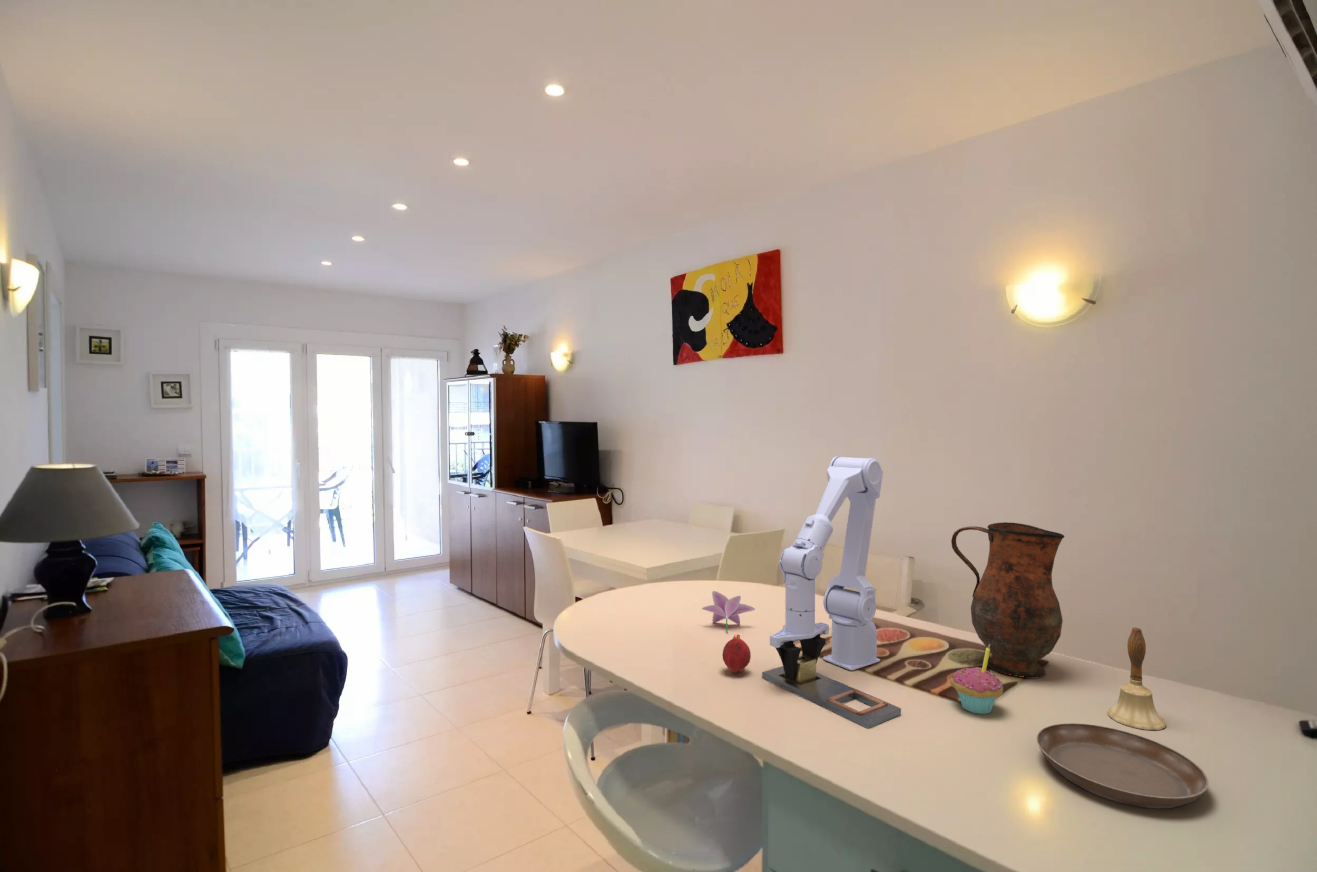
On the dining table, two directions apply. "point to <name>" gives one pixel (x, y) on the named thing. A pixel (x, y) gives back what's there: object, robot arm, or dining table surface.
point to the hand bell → (1136, 692)
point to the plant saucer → (1122, 765)
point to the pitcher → (1016, 597)
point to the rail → (837, 698)
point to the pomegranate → (736, 654)
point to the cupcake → (977, 687)
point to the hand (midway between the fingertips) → (799, 675)
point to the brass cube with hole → (804, 670)
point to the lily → (727, 608)
